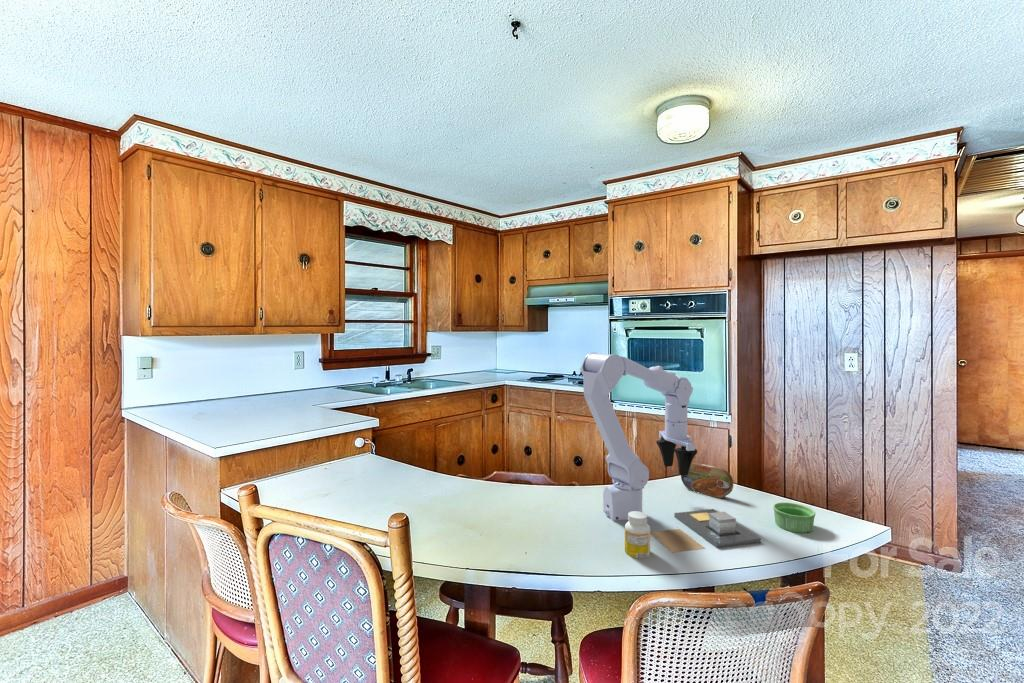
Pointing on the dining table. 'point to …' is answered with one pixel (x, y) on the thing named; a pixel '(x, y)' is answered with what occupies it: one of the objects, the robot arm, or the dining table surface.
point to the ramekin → (794, 517)
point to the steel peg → (722, 524)
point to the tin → (708, 480)
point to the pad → (676, 540)
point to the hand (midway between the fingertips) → (675, 470)
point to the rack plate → (700, 525)
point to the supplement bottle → (637, 535)
